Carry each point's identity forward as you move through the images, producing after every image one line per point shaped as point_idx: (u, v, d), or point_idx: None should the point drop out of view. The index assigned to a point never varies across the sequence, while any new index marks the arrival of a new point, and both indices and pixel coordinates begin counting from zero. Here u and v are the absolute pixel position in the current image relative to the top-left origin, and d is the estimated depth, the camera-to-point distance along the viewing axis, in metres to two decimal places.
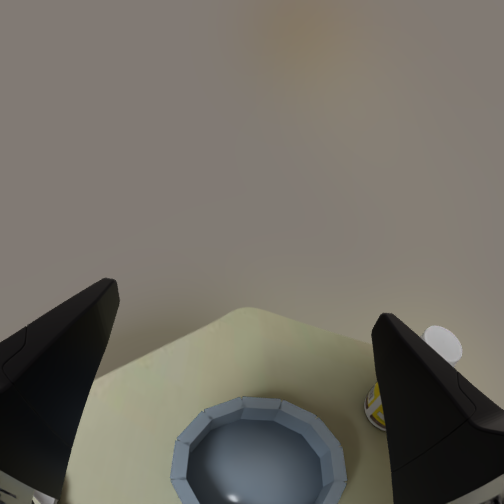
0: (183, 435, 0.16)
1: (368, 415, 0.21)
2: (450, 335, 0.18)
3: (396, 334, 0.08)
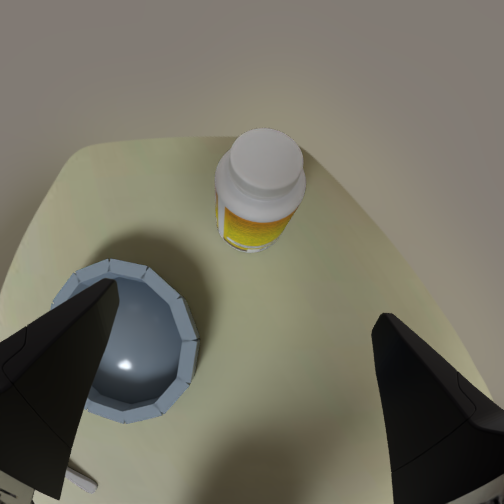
0: None
1: (222, 237, 0.23)
2: (282, 140, 0.15)
3: (396, 334, 0.08)
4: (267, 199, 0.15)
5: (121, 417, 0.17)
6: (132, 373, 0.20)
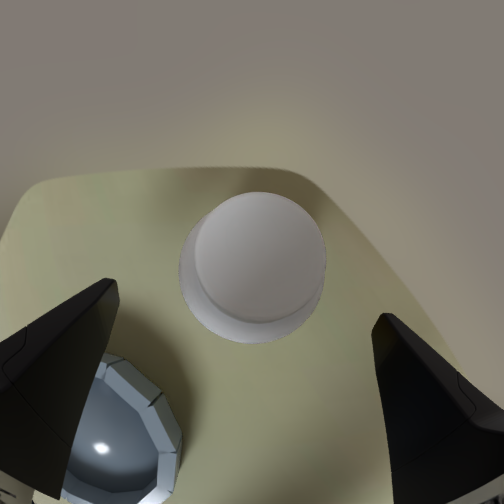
0: None
1: None
2: (289, 218, 0.09)
3: (396, 334, 0.08)
4: None
5: None
6: (109, 466, 0.13)
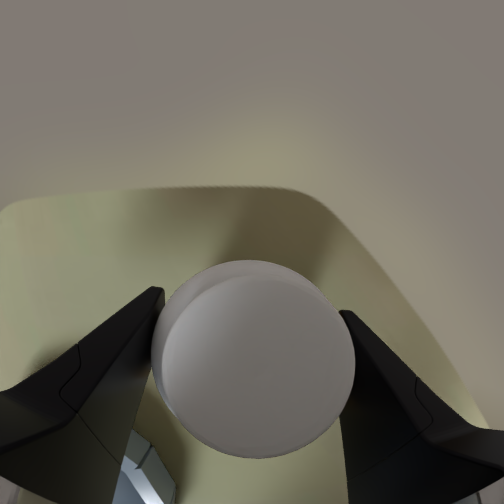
0: None
1: None
2: (305, 318, 0.05)
3: (351, 332, 0.08)
4: None
5: None
6: None
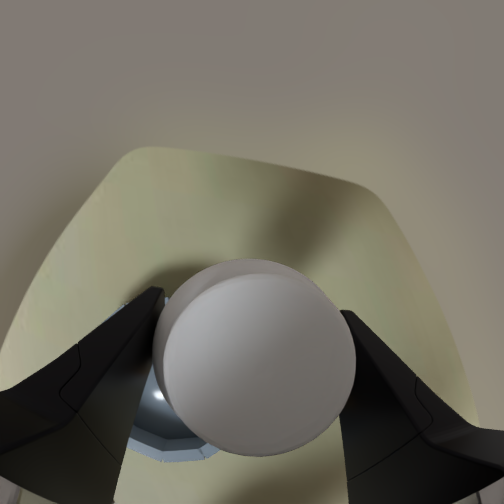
0: None
1: None
2: (306, 317, 0.05)
3: None
4: None
5: (160, 456, 0.16)
6: (174, 412, 0.19)
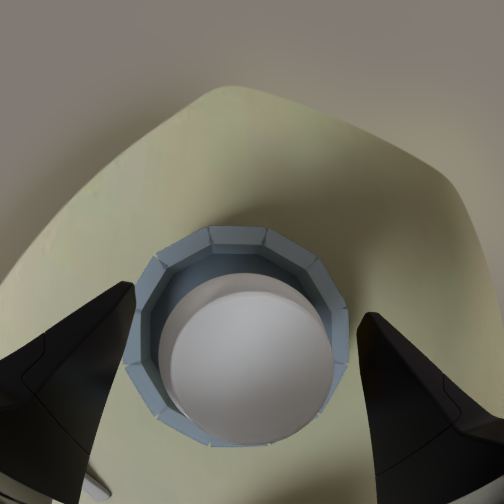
0: None
1: None
2: (290, 327, 0.06)
3: (380, 334, 0.08)
4: None
5: (207, 438, 0.13)
6: None
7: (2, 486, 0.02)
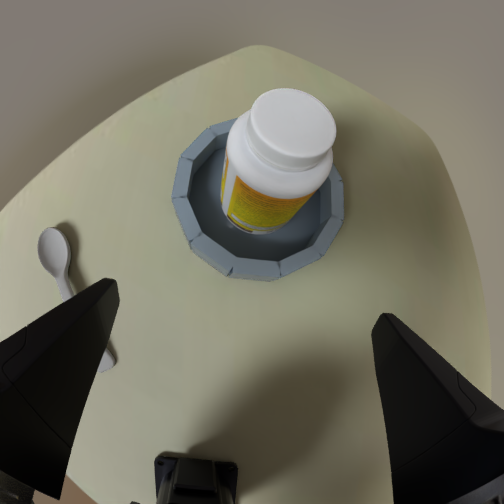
0: (187, 152, 0.19)
1: (225, 214, 0.20)
2: (313, 105, 0.12)
3: (396, 334, 0.08)
4: (290, 170, 0.12)
5: (230, 263, 0.18)
6: None
7: None
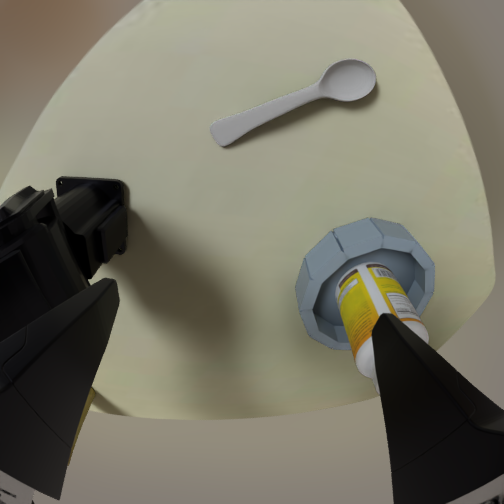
0: (419, 248, 0.19)
1: (358, 267, 0.22)
2: None
3: (396, 334, 0.08)
4: (373, 368, 0.16)
5: (317, 278, 0.21)
6: None
7: None
